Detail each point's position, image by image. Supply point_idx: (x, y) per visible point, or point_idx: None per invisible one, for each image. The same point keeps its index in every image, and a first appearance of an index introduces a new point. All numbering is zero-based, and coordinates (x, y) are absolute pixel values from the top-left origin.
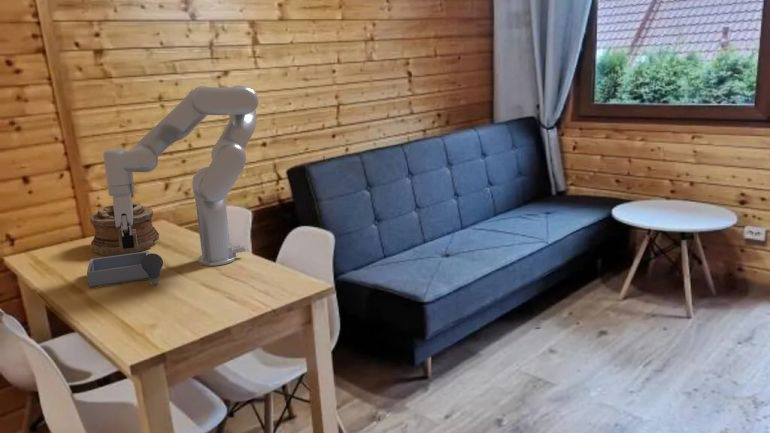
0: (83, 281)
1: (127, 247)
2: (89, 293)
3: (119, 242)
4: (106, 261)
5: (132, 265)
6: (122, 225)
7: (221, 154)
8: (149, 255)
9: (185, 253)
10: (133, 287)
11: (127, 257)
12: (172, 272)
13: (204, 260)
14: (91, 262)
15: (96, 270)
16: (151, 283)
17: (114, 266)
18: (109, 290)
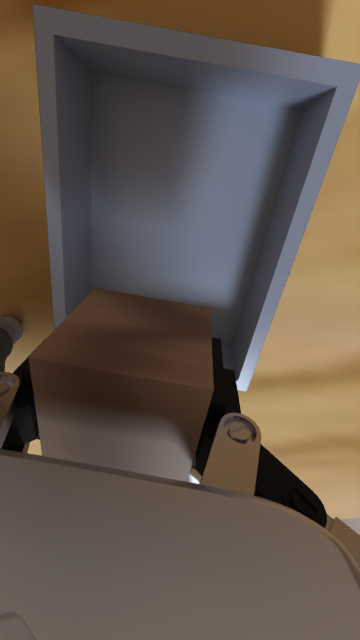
0: (220, 23)
1: None
2: (5, 48)
3: (70, 316)
4: (294, 187)
5: (63, 297)
6: (202, 476)
7: None
8: None
9: (281, 452)
10: (17, 255)
11: (260, 299)
12: None
13: None
14: (270, 68)
15: (303, 119)
16: (1, 316)
17: (273, 222)
18: (15, 158)
